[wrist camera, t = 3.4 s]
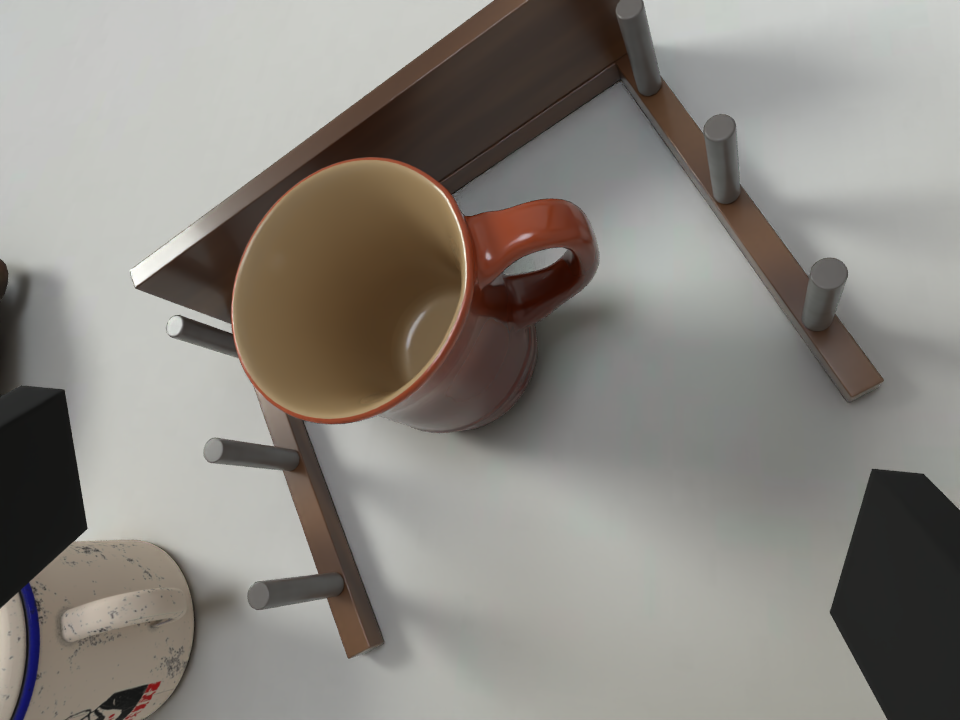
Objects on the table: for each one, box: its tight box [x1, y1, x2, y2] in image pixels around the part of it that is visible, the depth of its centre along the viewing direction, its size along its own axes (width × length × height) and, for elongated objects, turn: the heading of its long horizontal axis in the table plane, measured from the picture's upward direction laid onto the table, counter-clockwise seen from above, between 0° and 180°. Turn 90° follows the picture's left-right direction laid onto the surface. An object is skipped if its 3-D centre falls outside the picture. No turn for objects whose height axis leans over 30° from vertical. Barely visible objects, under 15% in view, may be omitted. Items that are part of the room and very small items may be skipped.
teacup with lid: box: [0, 540, 194, 720], centre depth 29 cm, size 12×9×12 cm
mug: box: [231, 157, 599, 433], centre depth 26 cm, size 12×9×10 cm
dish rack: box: [130, 0, 884, 659], centre depth 27 cm, size 18×23×7 cm
